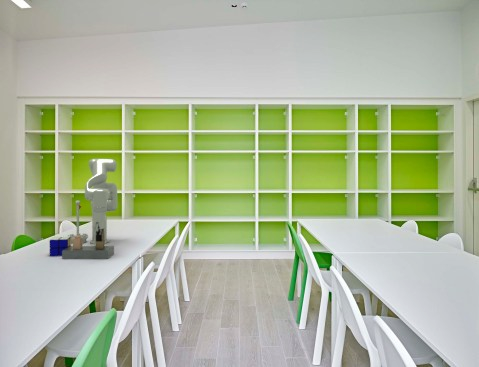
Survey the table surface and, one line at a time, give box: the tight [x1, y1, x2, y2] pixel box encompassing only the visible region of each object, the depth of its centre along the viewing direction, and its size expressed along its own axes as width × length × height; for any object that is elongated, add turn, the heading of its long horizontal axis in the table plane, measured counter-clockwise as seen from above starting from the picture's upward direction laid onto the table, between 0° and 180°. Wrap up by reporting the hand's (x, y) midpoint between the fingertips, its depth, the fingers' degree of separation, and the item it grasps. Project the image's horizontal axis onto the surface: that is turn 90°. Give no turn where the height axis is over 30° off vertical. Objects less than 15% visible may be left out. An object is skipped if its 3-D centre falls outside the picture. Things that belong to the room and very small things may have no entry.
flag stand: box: [67, 200, 89, 245], centre depth 249 cm, size 13×13×30 cm
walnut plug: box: [95, 230, 106, 249], centre depth 211 cm, size 4×4×11 cm
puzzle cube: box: [49, 235, 72, 257], centre depth 215 cm, size 10×10×10 cm
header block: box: [61, 245, 115, 260], centre depth 210 cm, size 12×26×5 cm, turn 94°
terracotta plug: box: [72, 236, 83, 249], centre depth 210 cm, size 4×4×11 cm
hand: (100, 240), depth 211 cm, fingers closed on walnut plug, 4 cm apart
